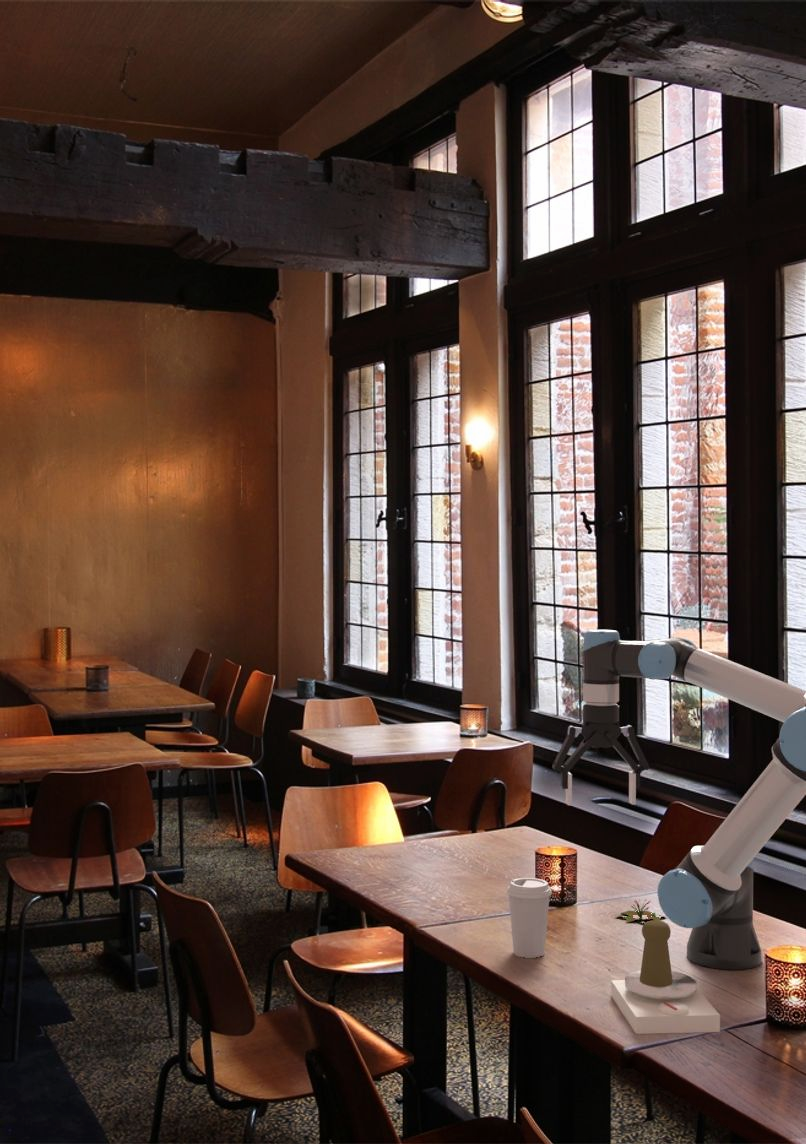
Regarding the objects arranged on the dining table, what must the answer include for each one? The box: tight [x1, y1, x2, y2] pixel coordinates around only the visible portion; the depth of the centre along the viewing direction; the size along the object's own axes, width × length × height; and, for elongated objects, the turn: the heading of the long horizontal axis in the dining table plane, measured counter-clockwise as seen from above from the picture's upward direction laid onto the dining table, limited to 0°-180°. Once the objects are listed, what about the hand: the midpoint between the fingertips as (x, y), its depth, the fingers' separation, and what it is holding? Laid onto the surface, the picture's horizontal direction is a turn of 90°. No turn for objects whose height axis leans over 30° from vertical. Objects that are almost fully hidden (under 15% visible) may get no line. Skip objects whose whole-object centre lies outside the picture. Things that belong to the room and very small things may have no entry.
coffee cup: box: [505, 877, 553, 959], centre depth 262 cm, size 10×10×15 cm
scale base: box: [610, 979, 721, 1035], centre depth 227 cm, size 15×19×4 cm
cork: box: [640, 920, 673, 987], centre depth 229 cm, size 6×6×11 cm
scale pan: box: [624, 969, 698, 1000], centre depth 229 cm, size 13×13×1 cm
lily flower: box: [616, 898, 662, 925], centre depth 288 cm, size 12×12×5 cm
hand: (600, 803), depth 261 cm, fingers open, 13 cm apart
